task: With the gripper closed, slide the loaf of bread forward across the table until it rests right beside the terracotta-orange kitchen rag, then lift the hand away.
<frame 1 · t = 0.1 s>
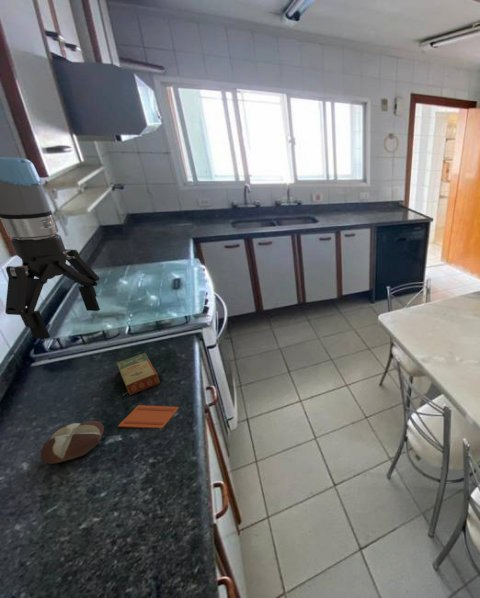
hand: (70, 323, 79), 31 cm above the table, tool pointing down, fingers open, 13 cm apart
carton: (140, 378, 108), on the table
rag: (150, 417, 94), on the table
bread: (78, 445, 84), on the table
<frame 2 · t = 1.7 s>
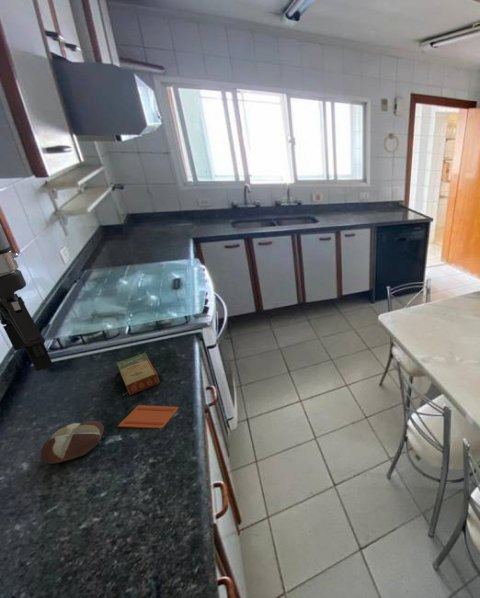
hand: (33, 357, 77), 24 cm above the table, tool pointing down, fingers open, 13 cm apart
nothing on the table moved.
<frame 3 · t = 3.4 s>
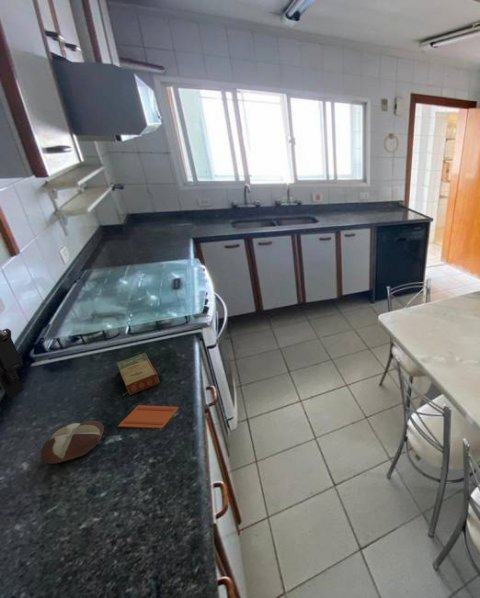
hand: (5, 392, 76), 17 cm above the table, tool pointing down, fingers open, 4 cm apart
nothing on the table moved.
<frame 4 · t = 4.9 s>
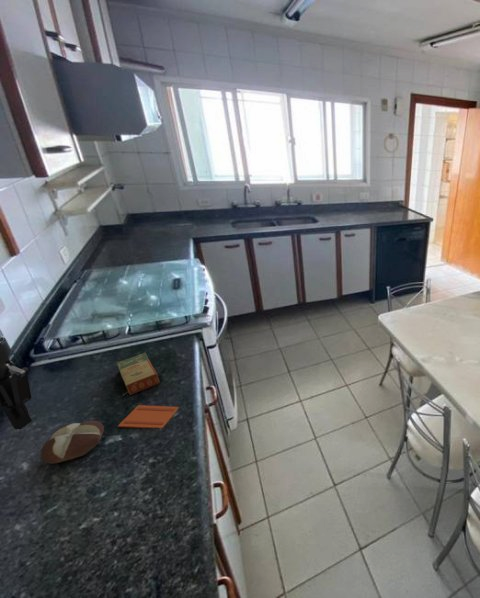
hand: (23, 424, 81), 7 cm above the table, tool pointing down, fingers closed
nothing on the table moved.
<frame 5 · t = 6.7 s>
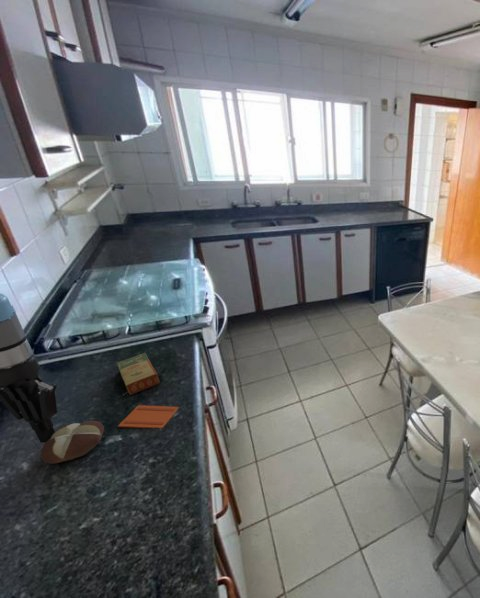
hand: (48, 438, 82), 2 cm above the table, tool pointing down, fingers closed
bread: (78, 445, 84), on the table, touching gripper
everything else where it was.
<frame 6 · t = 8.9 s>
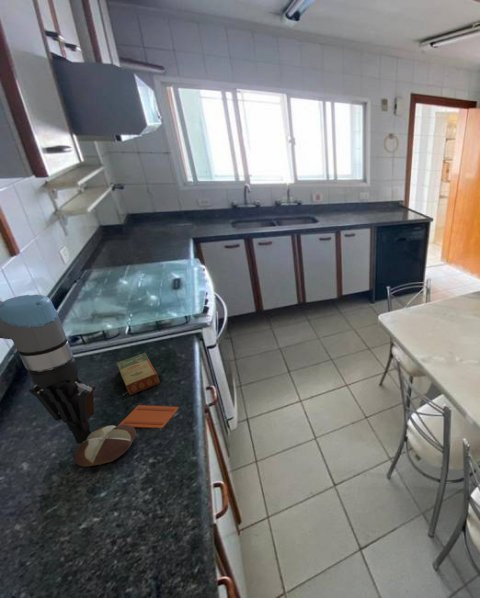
hand: (84, 439, 83), 2 cm above the table, tool pointing down, fingers closed
bread: (110, 449, 84), on the table, touching gripper
everything else where it was.
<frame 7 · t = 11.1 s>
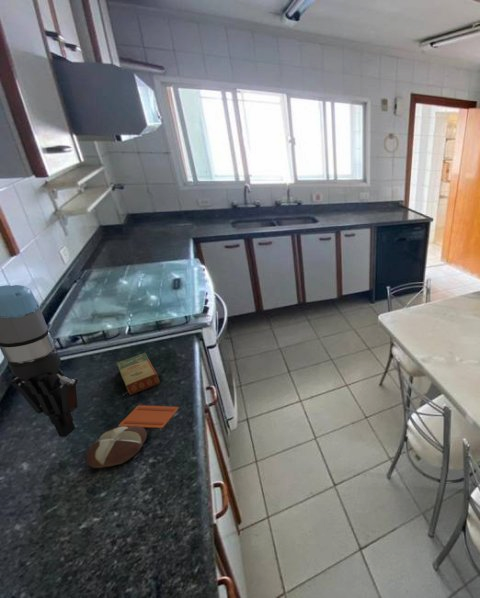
hand: (67, 432, 82), 5 cm above the table, tool pointing down, fingers closed
bread: (121, 450, 83), on the table
everything else where it was.
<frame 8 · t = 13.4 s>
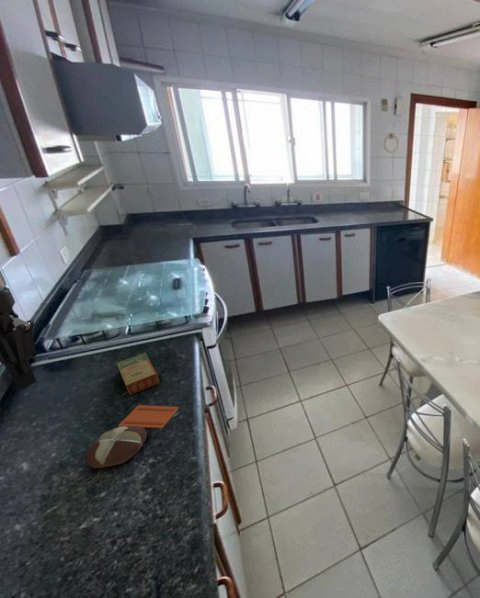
hand: (27, 384, 76), 19 cm above the table, tool pointing down, fingers closed
nothing on the table moved.
at the end: bread inside the target area (1.6 cm from its centre), on the table; bread 11.6 cm from the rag (horizontally); bread moved 11.5 cm from its start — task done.
